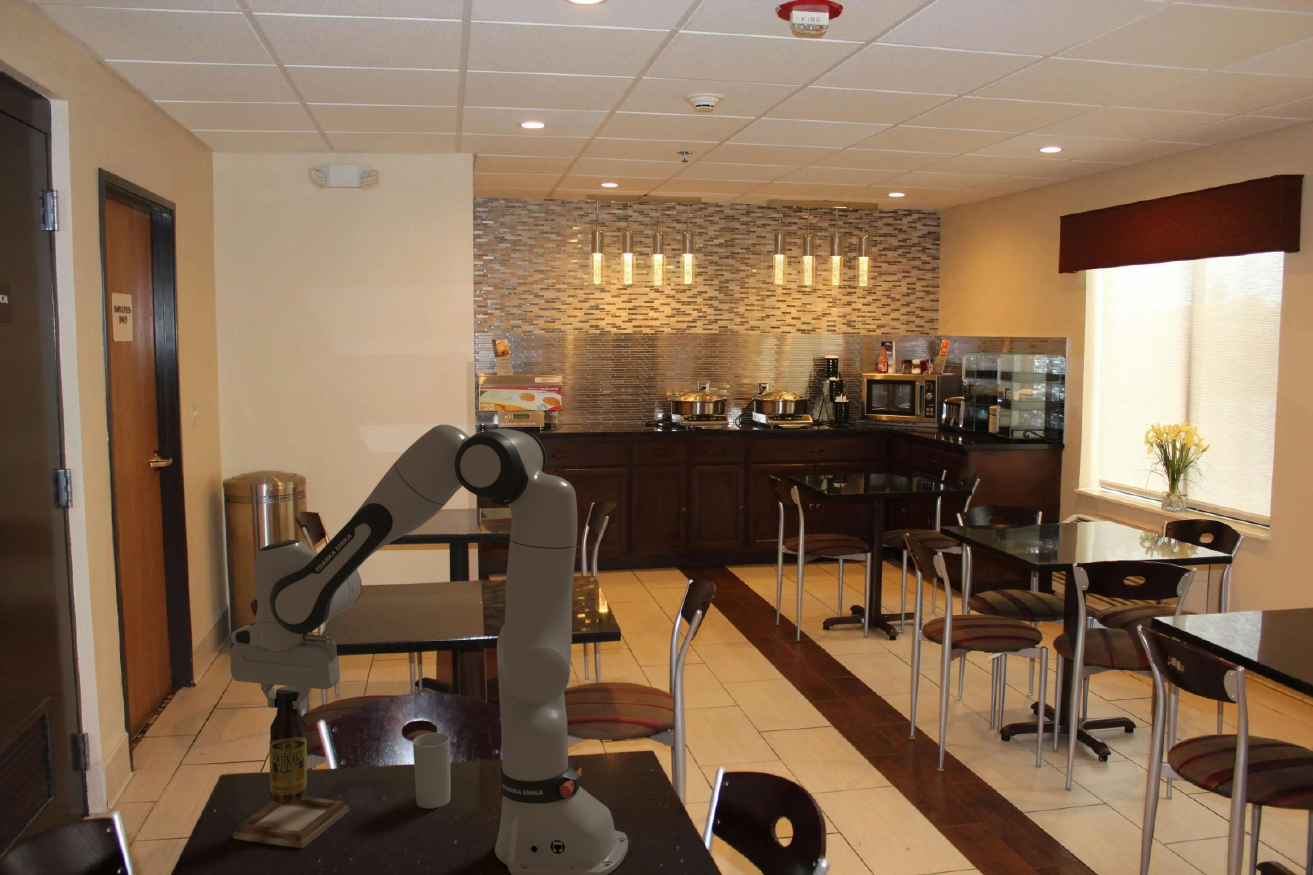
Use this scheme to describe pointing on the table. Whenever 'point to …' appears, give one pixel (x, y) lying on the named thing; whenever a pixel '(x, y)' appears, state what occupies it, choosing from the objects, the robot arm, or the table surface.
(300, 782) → the sauce bottle
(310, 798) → the seat plate
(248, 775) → the table surface
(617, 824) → the table surface
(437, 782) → the mug
